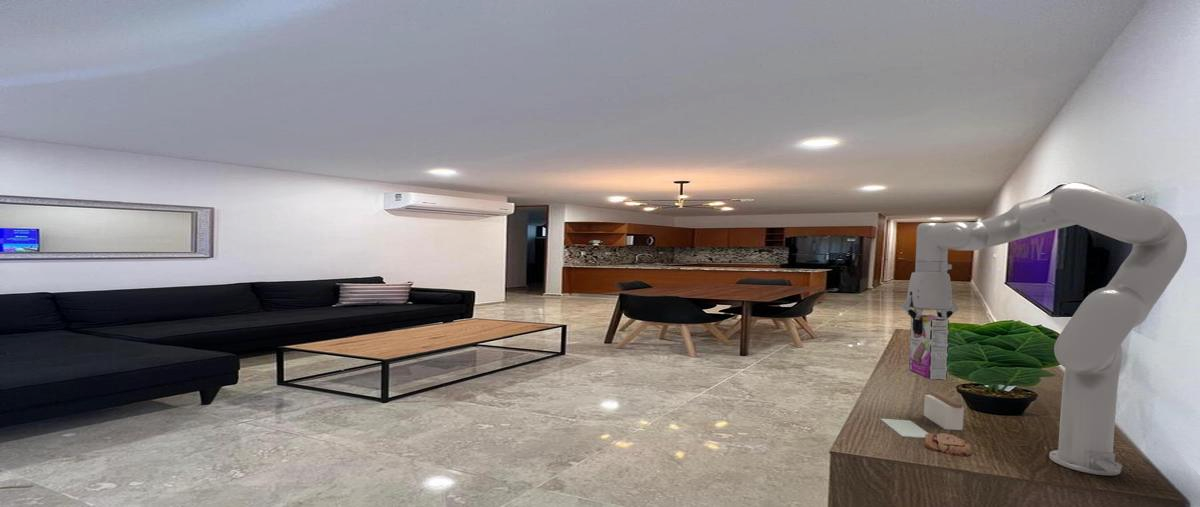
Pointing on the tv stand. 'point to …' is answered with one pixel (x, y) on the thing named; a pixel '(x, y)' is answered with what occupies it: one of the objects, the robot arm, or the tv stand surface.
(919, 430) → the stub pad
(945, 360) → the candy bar box
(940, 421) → the block
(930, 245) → the robot arm
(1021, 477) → the tv stand surface
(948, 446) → the cookie
